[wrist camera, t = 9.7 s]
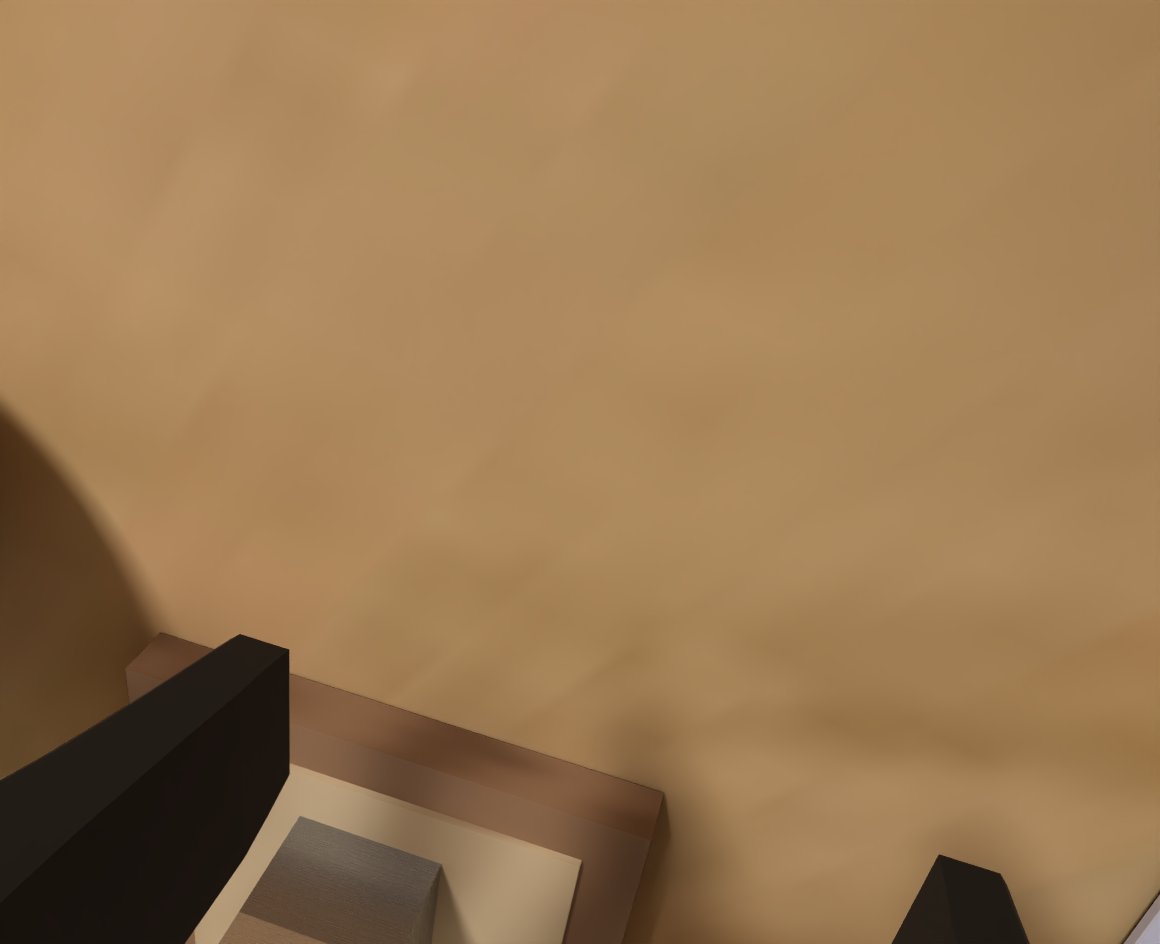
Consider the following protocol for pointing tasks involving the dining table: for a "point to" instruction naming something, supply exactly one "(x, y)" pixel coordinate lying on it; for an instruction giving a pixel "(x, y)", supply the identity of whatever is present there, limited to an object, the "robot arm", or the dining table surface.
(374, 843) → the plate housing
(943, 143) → the dining table surface
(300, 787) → the walnut picture frame
